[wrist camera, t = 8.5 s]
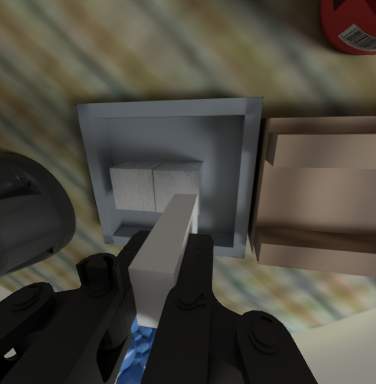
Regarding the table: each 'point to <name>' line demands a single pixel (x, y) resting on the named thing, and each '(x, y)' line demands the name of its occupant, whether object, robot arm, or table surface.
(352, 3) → the canned food
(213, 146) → the tray
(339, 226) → the slot block
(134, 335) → the grapes
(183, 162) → the grey cube
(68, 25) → the table surface
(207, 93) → the table surface
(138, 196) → the grey stone cube
